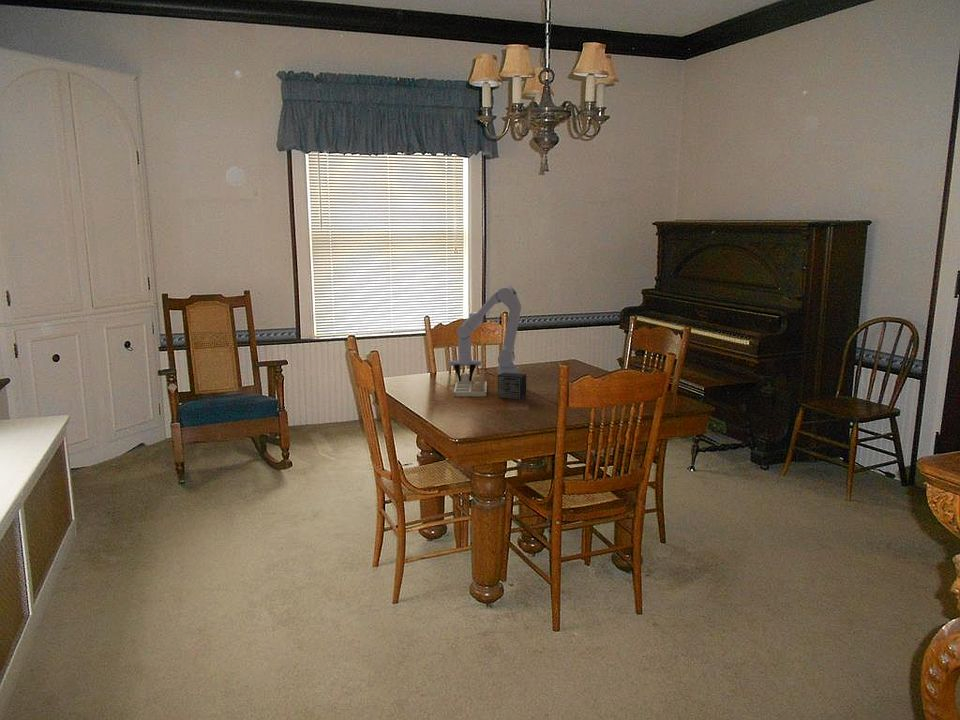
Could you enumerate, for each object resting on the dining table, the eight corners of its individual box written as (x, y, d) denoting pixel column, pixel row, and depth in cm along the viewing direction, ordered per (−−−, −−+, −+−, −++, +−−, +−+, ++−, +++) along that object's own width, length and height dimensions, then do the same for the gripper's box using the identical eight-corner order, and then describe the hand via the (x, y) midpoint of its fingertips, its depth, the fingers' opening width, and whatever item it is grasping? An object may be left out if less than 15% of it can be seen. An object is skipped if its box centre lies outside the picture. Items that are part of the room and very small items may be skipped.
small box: (527, 398, 297) (527, 373, 295) (521, 402, 291) (521, 376, 289) (503, 395, 301) (503, 371, 299) (497, 399, 295) (497, 374, 293)
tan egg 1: (483, 385, 315) (483, 374, 314) (483, 388, 311) (483, 376, 310) (473, 386, 315) (473, 374, 314) (473, 388, 311) (473, 376, 310)
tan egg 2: (483, 392, 302) (482, 380, 301) (482, 395, 298) (482, 382, 297) (473, 393, 302) (472, 380, 301) (472, 395, 298) (472, 382, 297)
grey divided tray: (486, 387, 316) (486, 381, 316) (486, 398, 297) (486, 391, 296) (456, 387, 317) (455, 381, 316) (453, 398, 297) (453, 392, 297)
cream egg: (469, 383, 325) (469, 371, 324) (469, 385, 320) (469, 373, 319) (460, 383, 325) (460, 371, 324) (460, 385, 320) (460, 373, 319)
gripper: (481, 349, 323) (481, 379, 326) (449, 350, 324) (449, 379, 326) (480, 352, 316) (481, 382, 319) (448, 352, 317) (448, 382, 319)
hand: (465, 381), depth 322 cm, fingers closed on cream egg, 4 cm apart
